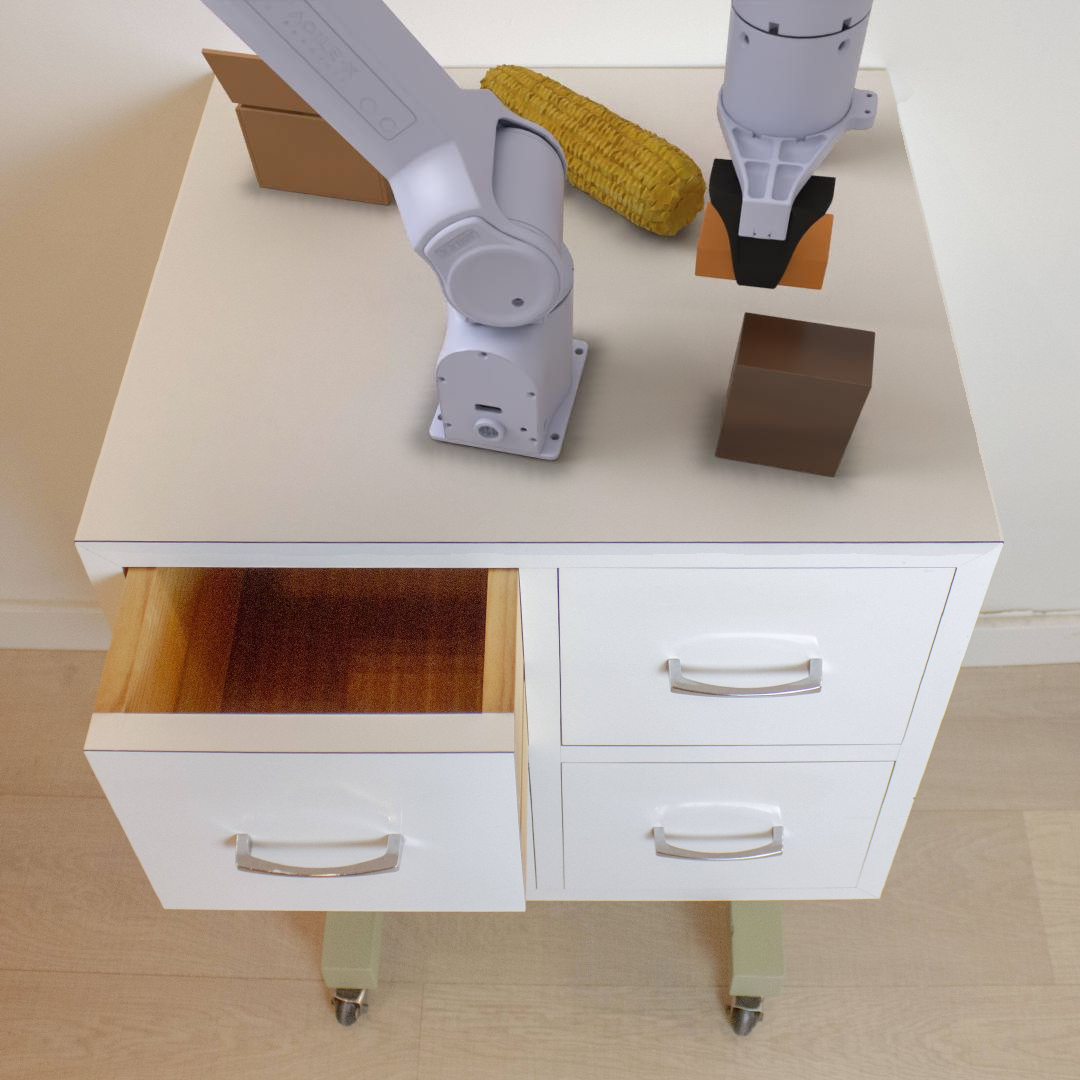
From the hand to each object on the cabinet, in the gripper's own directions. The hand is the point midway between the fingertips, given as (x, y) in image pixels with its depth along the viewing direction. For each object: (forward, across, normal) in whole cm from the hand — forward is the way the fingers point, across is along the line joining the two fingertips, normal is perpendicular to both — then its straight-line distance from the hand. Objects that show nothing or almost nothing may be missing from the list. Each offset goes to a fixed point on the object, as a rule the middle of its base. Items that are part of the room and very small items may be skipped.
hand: (761, 255), depth 51 cm
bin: (+9, +16, +32) cm, 37 cm away
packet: (0, 0, 0) cm, 0 cm away
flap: (-1, +11, +31) cm, 33 cm away
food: (+10, +18, +14) cm, 25 cm away
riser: (+10, -4, -3) cm, 12 cm away
